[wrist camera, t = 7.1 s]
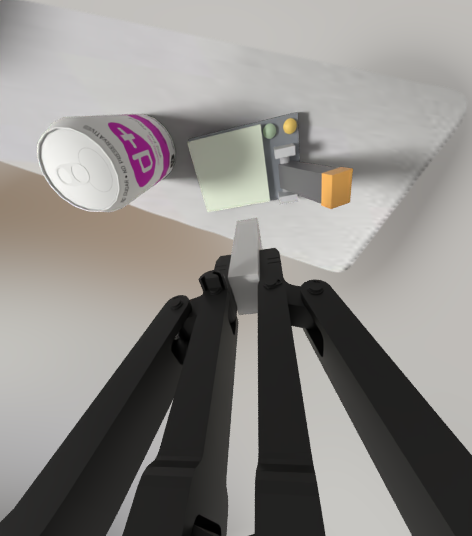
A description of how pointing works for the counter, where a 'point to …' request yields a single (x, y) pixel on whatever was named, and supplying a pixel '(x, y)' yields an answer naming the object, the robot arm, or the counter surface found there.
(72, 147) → the supplement can
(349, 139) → the counter surface
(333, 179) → the breaker lever
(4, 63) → the counter surface
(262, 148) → the panel
